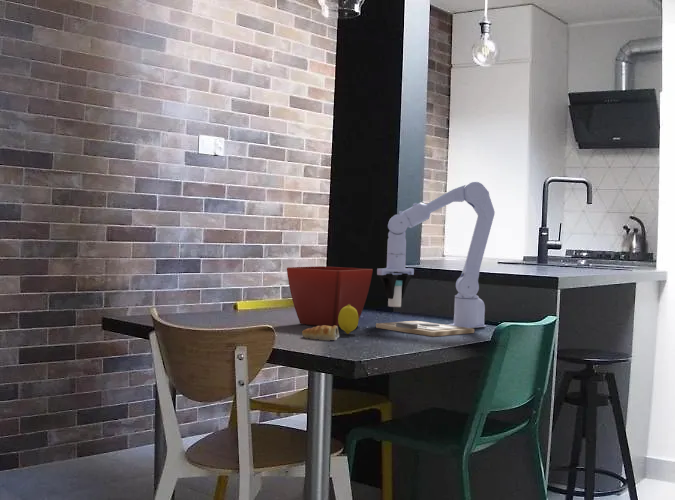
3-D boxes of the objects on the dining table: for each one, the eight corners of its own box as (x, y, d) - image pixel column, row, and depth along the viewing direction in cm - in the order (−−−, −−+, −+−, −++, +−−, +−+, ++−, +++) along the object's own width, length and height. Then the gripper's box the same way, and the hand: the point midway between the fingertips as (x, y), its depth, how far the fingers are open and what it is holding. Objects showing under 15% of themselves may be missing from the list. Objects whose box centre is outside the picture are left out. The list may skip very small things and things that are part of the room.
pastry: (299, 339, 207) (300, 324, 207) (304, 336, 214) (305, 322, 214) (336, 341, 205) (336, 326, 205) (340, 338, 212) (340, 324, 212)
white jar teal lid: (394, 305, 253) (395, 279, 253) (404, 306, 250) (405, 280, 250) (384, 306, 251) (385, 280, 250) (394, 307, 247) (395, 280, 247)
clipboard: (416, 324, 250) (417, 316, 250) (474, 332, 234) (474, 324, 234) (375, 327, 238) (376, 319, 238) (433, 336, 222) (433, 327, 222)
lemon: (356, 335, 217) (357, 305, 217) (335, 334, 218) (336, 304, 218) (359, 333, 223) (360, 304, 223) (339, 332, 224) (340, 303, 224)
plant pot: (282, 323, 239) (284, 266, 238) (319, 319, 255) (321, 265, 254) (337, 330, 228) (339, 270, 228) (372, 325, 244) (374, 269, 244)
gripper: (402, 253, 258) (401, 296, 258) (370, 253, 248) (369, 298, 248) (419, 254, 253) (418, 298, 253) (387, 254, 243) (385, 299, 243)
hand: (394, 298), depth 250 cm, fingers closed on white jar teal lid, 4 cm apart
